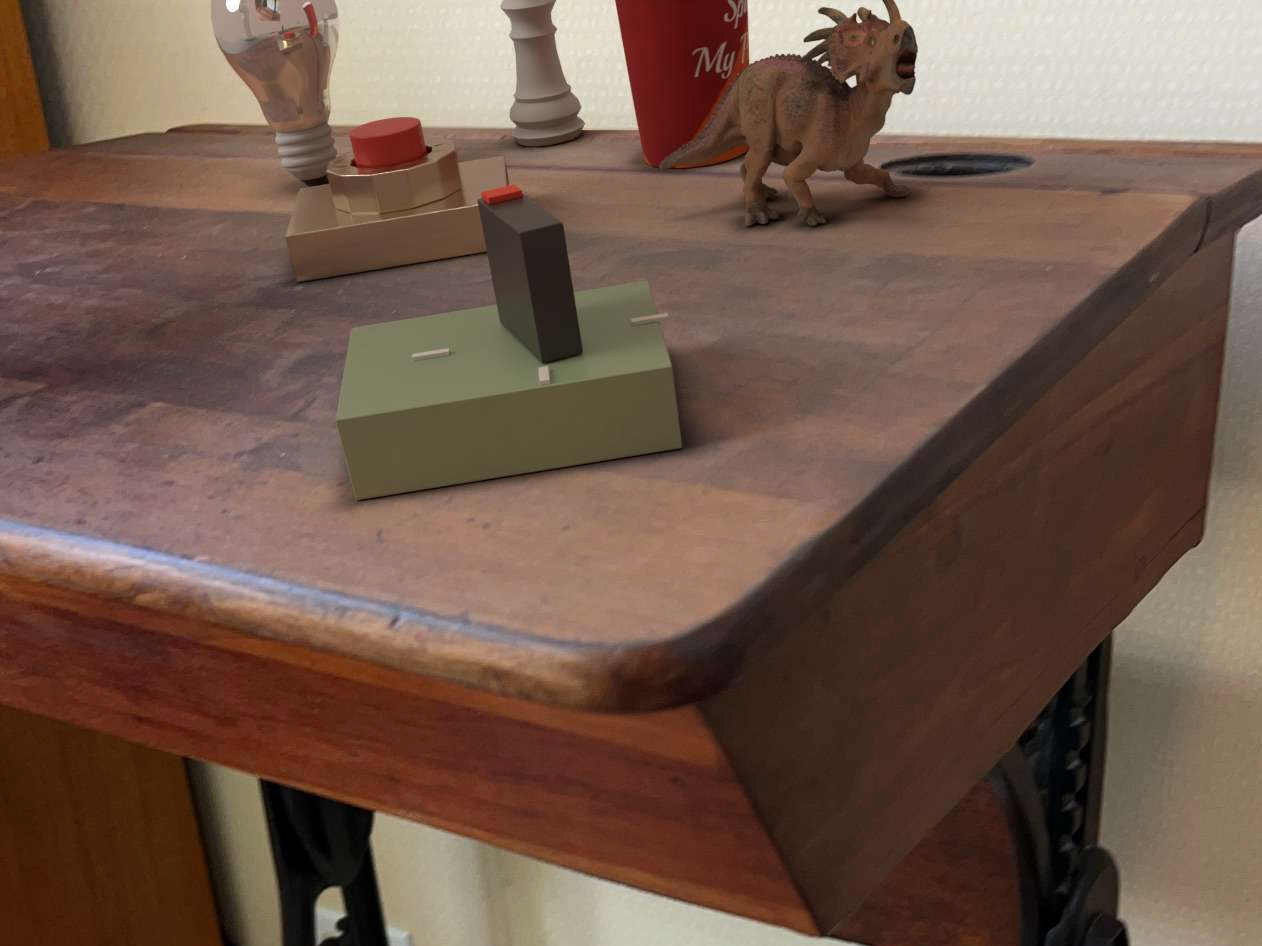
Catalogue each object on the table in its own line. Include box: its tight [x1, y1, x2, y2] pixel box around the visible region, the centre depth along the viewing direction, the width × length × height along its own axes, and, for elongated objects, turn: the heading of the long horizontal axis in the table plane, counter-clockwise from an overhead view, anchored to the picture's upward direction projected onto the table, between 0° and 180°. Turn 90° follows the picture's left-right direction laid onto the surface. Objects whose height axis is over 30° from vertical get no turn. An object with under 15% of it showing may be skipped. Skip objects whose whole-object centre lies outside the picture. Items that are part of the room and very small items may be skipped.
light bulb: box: [210, 0, 341, 186], centre depth 93 cm, size 7×7×12 cm
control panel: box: [335, 280, 683, 501], centre depth 62 cm, size 12×10×3 cm
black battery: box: [477, 184, 583, 363], centre depth 60 cm, size 6×2×5 cm, turn 21°
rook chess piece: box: [499, 0, 586, 147], centre depth 95 cm, size 4×4×8 cm
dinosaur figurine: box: [659, 0, 919, 227], centre depth 77 cm, size 14×6×9 cm, turn 63°
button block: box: [284, 136, 511, 283], centre depth 84 cm, size 11×9×4 cm
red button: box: [348, 116, 427, 168], centre depth 82 cm, size 4×4×2 cm
